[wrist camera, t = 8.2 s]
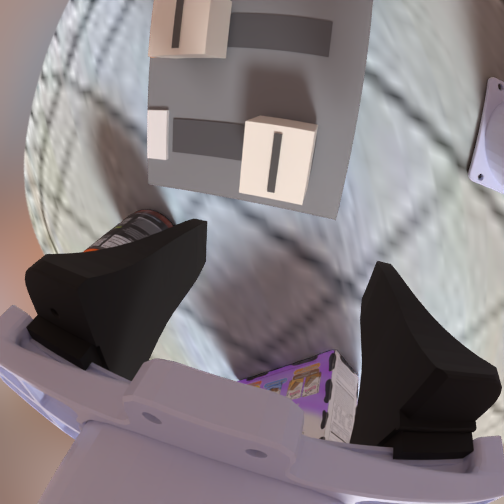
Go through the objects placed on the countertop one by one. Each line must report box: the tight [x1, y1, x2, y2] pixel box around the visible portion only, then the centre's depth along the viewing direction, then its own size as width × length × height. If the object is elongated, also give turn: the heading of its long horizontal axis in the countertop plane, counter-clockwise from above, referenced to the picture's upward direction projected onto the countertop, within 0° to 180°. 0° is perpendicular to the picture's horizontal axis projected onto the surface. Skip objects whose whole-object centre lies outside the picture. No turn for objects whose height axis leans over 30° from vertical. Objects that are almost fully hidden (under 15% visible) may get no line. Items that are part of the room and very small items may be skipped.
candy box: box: [237, 350, 358, 443], centre depth 26 cm, size 14×6×16 cm, turn 131°
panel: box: [147, 0, 373, 220], centre depth 15 cm, size 14×23×2 cm, turn 174°
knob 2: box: [239, 115, 318, 205], centre depth 16 cm, size 4×4×3 cm
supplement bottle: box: [84, 210, 173, 252], centre depth 22 cm, size 6×6×11 cm
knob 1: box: [148, 0, 232, 59], centre depth 13 cm, size 4×4×3 cm
